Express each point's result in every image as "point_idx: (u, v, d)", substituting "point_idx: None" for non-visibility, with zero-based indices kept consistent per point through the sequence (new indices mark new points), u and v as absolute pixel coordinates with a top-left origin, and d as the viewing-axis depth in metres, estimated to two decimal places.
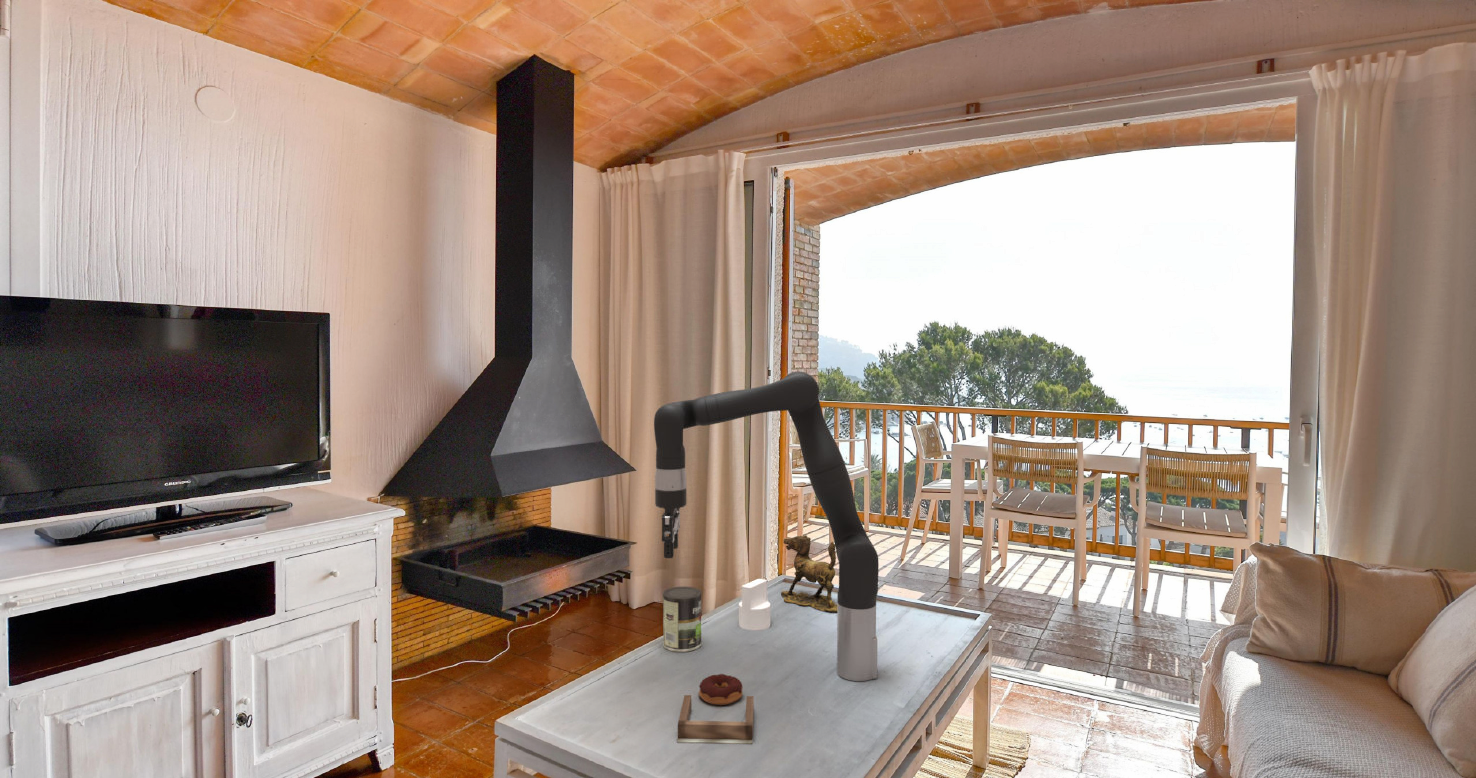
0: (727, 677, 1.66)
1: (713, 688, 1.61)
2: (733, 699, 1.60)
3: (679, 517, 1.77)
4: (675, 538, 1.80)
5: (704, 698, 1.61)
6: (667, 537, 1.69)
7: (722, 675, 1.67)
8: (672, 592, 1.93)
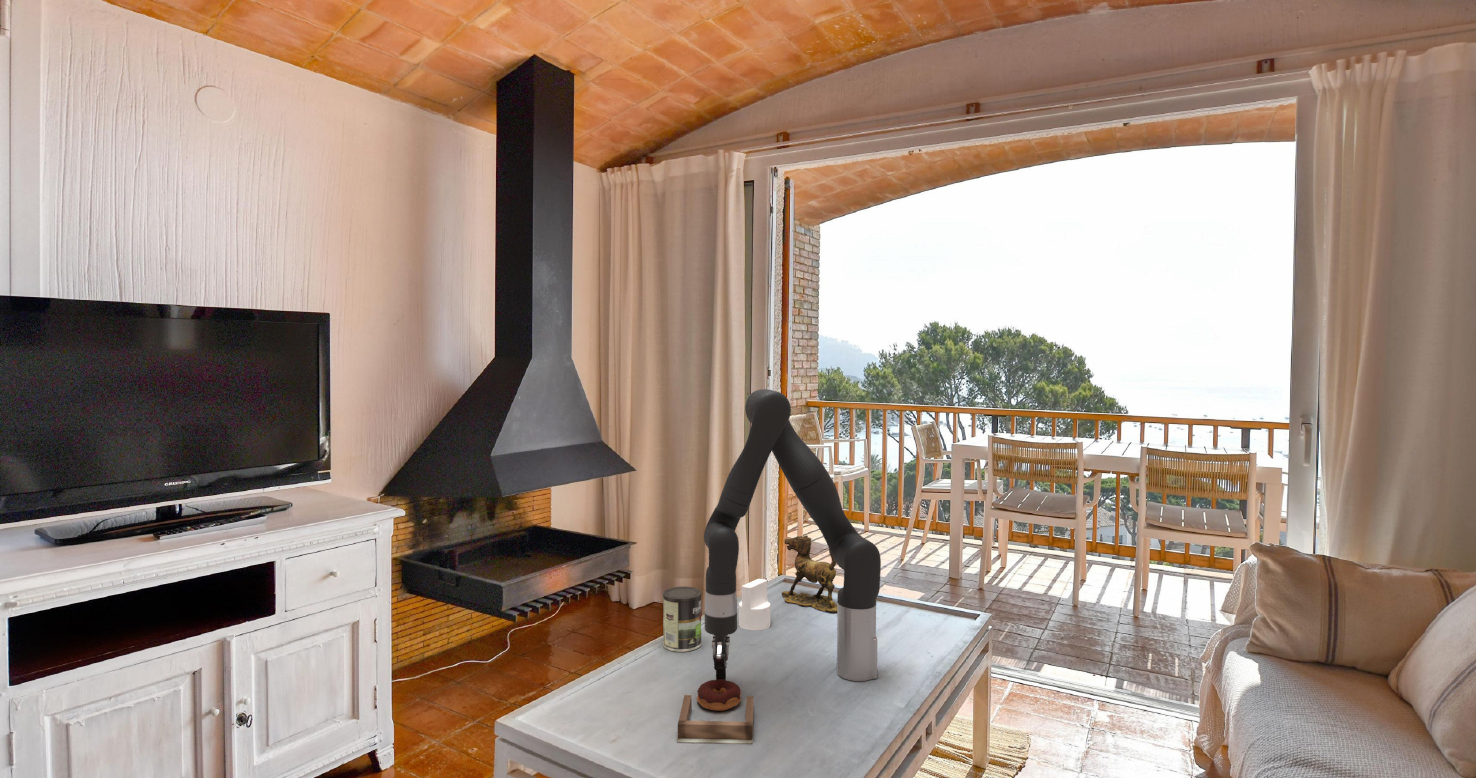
0: (726, 682, 1.63)
1: (711, 693, 1.58)
2: (731, 705, 1.57)
3: (729, 640, 1.68)
4: None
5: (702, 704, 1.58)
6: (720, 665, 1.65)
7: (721, 680, 1.64)
8: (672, 592, 1.93)
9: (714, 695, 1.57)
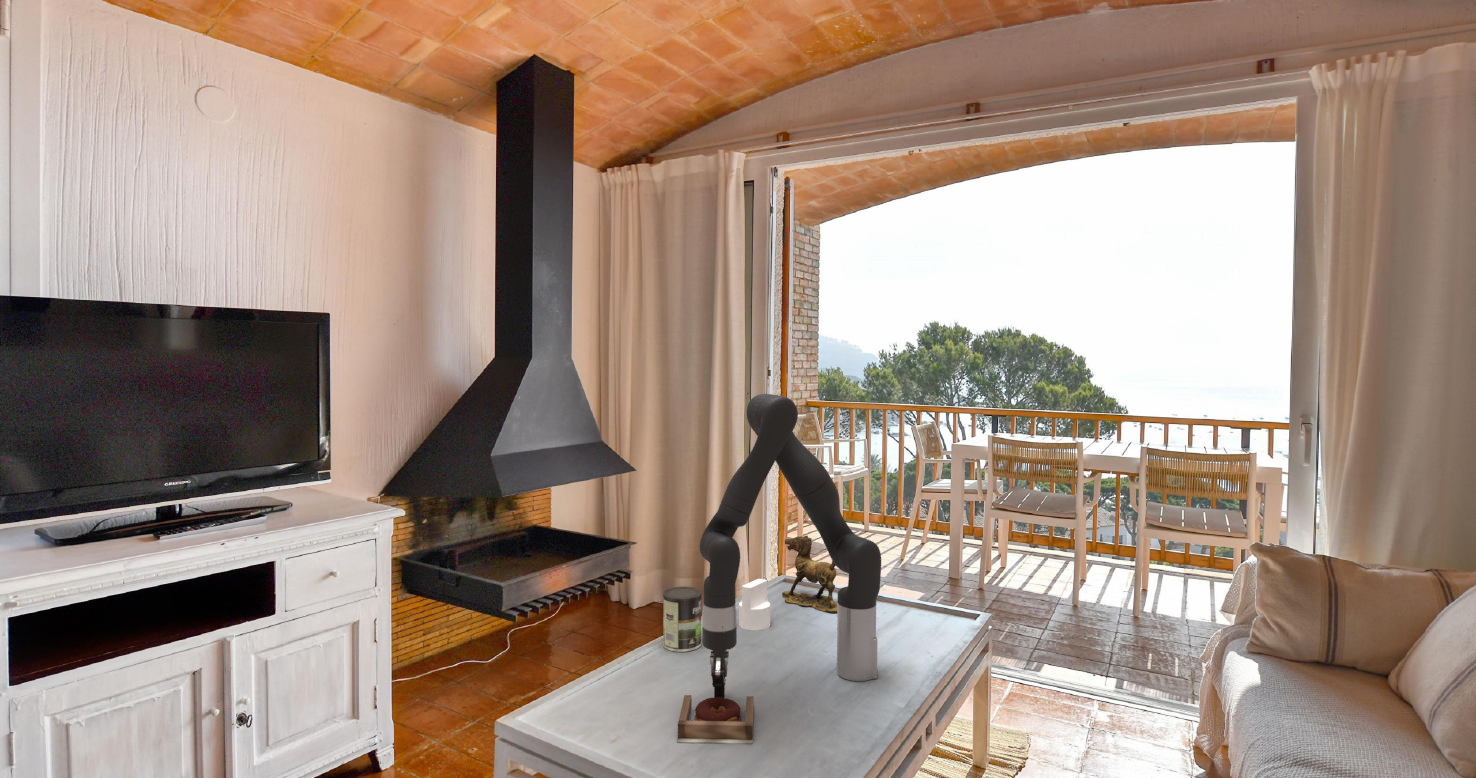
0: (725, 700, 1.55)
1: (709, 713, 1.50)
2: None
3: (728, 655, 1.60)
4: None
5: None
6: (718, 682, 1.57)
7: (719, 698, 1.56)
8: (672, 592, 1.93)
9: (713, 715, 1.49)
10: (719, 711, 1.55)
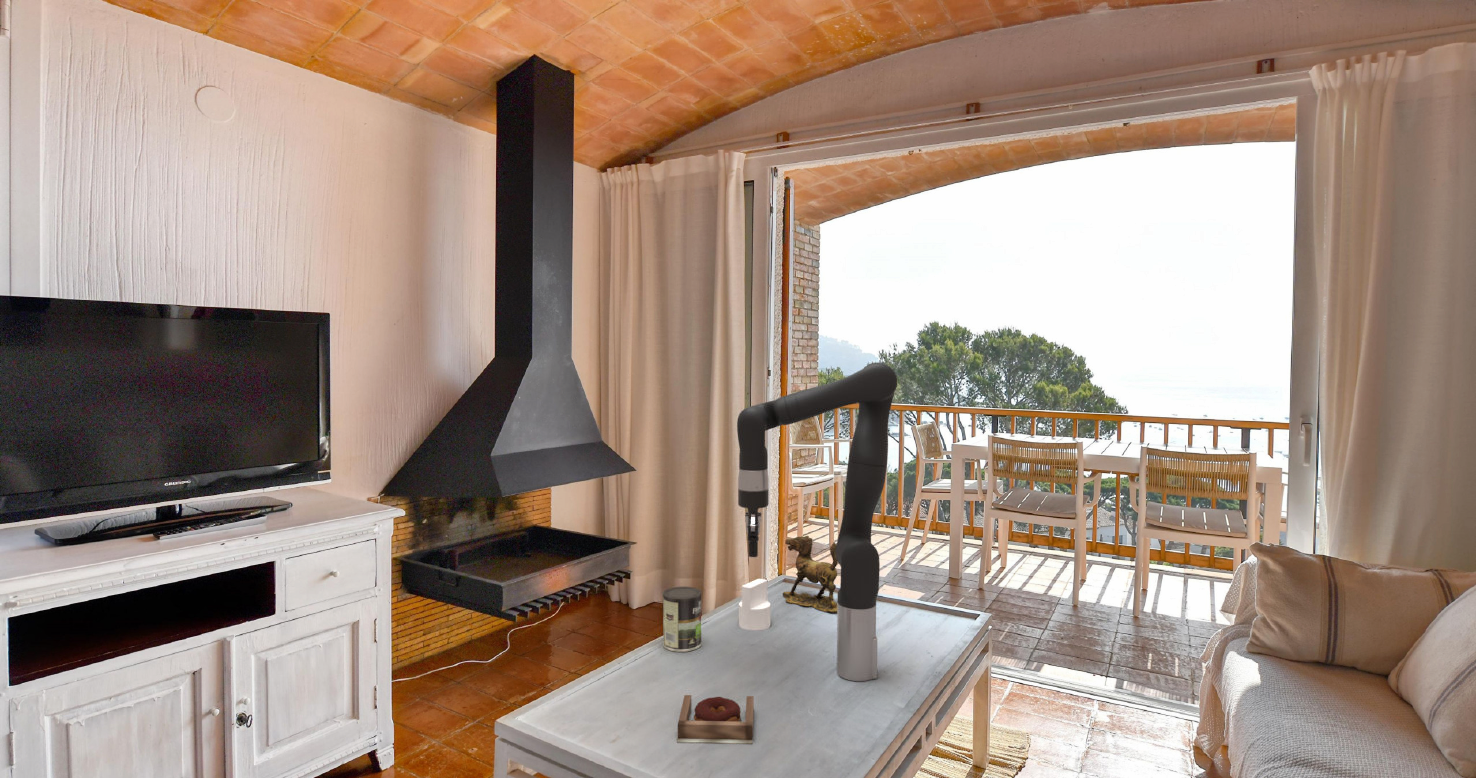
0: (724, 700, 1.55)
1: (709, 713, 1.50)
2: None
3: None
4: None
5: None
6: (753, 537, 1.77)
7: (719, 698, 1.56)
8: (672, 592, 1.93)
9: (712, 714, 1.49)
10: (719, 711, 1.55)
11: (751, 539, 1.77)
